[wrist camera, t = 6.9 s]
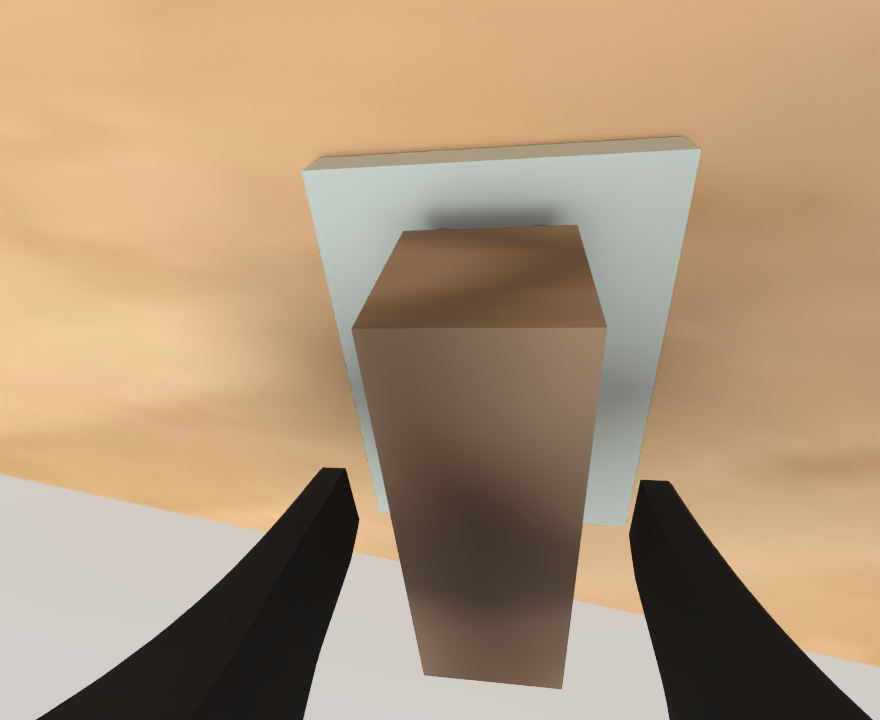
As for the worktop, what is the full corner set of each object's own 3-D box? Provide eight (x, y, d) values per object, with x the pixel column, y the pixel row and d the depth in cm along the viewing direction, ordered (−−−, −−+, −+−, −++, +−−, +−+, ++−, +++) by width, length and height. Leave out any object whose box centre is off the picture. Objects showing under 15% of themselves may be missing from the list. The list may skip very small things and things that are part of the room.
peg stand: (684, 136, 13) (731, 170, 10) (619, 495, 21) (635, 572, 18) (319, 157, 14) (271, 192, 12) (387, 485, 22) (368, 554, 19)
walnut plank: (577, 224, 11) (607, 328, 7) (552, 550, 18) (561, 689, 14) (403, 230, 12) (351, 328, 8) (442, 543, 18) (424, 675, 15)
